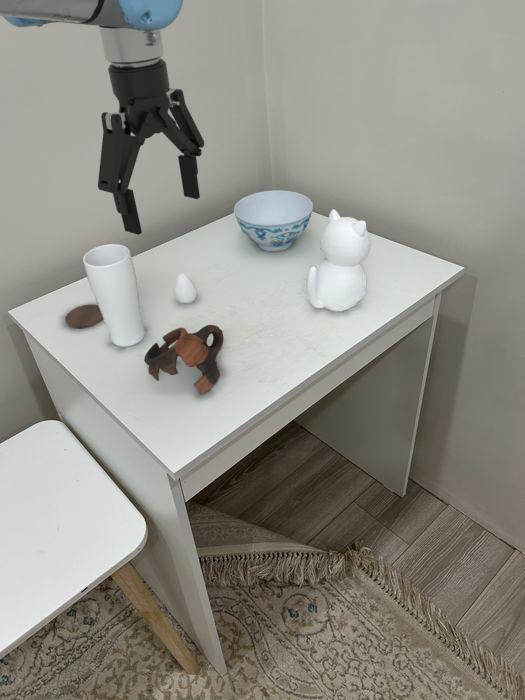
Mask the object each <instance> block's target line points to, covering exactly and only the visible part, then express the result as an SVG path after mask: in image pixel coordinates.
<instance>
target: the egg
mask: <svg viewBox="0 0 525 700" xmlns="http://www.w3.org/2000/svg"><path fill="white" fill-rule="evenodd" d="M173 295H174V298H175V299H176V300H177V301H178V302H179V303H181V304H190V303H192V302H194V301H195V300H196V298H197V296H198V292H197V287H196V286H195V283H194V282H193V280H192V279H191V278H190V276H189V275H188V274H186V272H181V273H179V275H178V276H176V279H175V281H174V284H173Z"/></svg>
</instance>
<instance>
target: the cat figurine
mask: <svg viewBox="0 0 525 700" xmlns="http://www.w3.org/2000/svg"><path fill="white" fill-rule="evenodd" d="M371 244H372V243H371V238H370V234H369V231H368V229H367V222H366V221H365V220H359V219H357V218H354V217H350V216H342V217H341V216H340V214H339V212H338V211H337V210H336V209H331V211H330V212H329V215H328V217H327V224H326V225H325V227H324V228H323V229H322V232H321V234H320V239H319V247H320V251H321V253H322V256H323V257H324V258H323V259H322V260H321V261H320V262H319V263H318V264H317V266H315V265H312V266H311V267H310V268H309V270H308V271H307V274H306V279H305V280H306V281H305V291H306V297H307V299H308V302H309V303H310V305H311V306H312V307H314V308H315V309H327V310H329V311H331V312H343V311H346V310H349V309H351V308H353V307H355V306H356V305H357V304H358V303H359V302H360V301H361V300H362V299H363V298H364V297H365V295H366V292H367V290H368V276H367V272H366V269H365V268H364V266H363V264H362V263H363V262H364V261H365V260H366V259H367V258H368V257H369V255H370V252H371Z"/></svg>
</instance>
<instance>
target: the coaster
mask: <svg viewBox="0 0 525 700" xmlns="http://www.w3.org/2000/svg"><path fill="white" fill-rule="evenodd" d="M64 320H65V324H66V325H67V326H68V327H70V328H72V329H87V328H90V327H93V326H95V325H97V324H99V323H100V322H101V321H102V320H104V319H103V316H102V314H101V311H100V309H99V306H98V304H83V305H80V306H77V307H75V308H73V309H72V310H70V311H69V312H68V313H67V314H66V315H65V319H64Z"/></svg>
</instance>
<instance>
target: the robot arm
mask: <svg viewBox="0 0 525 700" xmlns="http://www.w3.org/2000/svg"><path fill="white" fill-rule="evenodd" d="M183 4H184V0H0V17H3V18H4V20H6V21H7V22H8V23H9V24H11V25H12V26H14V27H16V28H28V27H37V28H42V27H43V26H44V25H48V24H54V23H64V24H75V25H85V26H98V28H99V33H100V38H101V42H102V43H101V44H102V48H103V54H104V57H105V60H106V61H107V62H108V63H110V64H109V66H108V68H107V70H108V71H107V72H108V76H109V80H110V85H111V89H112V93H113V95H114V96H115V99H116V100H117V102H118V104H119V105H118V111H116V112H115V111H114V112H107V111H103V112H102V113H101V117H100V118H101V125H102V131H103V133H102V142H101V150H100V160H99V170H98V179H97V189H98V190H99V191H102V192H106V193H110V194H112V196H113V197H112V198H113V201H114V205H115V208H116V212H117V213H118V214H119V215H121V218H122V220H121V221H122V224H123V229H124V231H125V232H127V233H131V234H133V235H138V236H139V235H141V234H142V233H143V230H142V226H141V221H140V217H139V212H138V208H137V202H136V199H135V193H134V190H133V189H130V188H129V187H130V183H131V179H132V176H133V173H134V169H135V165H136V163H137V159H138V156H139V152H140V149H141V147H142V146H144V144H145V143H146V140H147V139H150V138H152V137H153V136H154V135H155V134H161V133H162V134H163V135H164V136H165V137H166V138H167V139H168V140H169V141H170V142H171V143H172V145H173V146H175V147H176V149H177V150H178V151H179V152H180V153H182V154H180V155H178V156H177V160H178V165H179V172H180V179H181V186H182V191H183V197H184V198H185V197H186V198H189V199H194V200H199V199H200V198H201V195H200V194H201V193H200V187H199V179H198V174H199V168H198V167H199V166H198V160H197V157H201V156H202V154H203V153H202V149H203V148H204V146H205V140H204V138H203V136H202V134H201V132H200V130H199V128H198V126H197V124H196V122H195V120H194V118H193V116H192V113H191V112H190V110H189V108H188V107H187V104H186V100H185V95H184V91H183V89H180V88H173V87H172V88H171V87H170V79H169V73H168V67H167V62H166V61H165V60H164V58H162V57H163V56H164V55H165V50H164V49H165V48H164V43H163V37H162V31H161V30H163V29H166V28H167V27H169V26H170V25H172V24H173V23H174V22H175V21H176V19H177V18H178V16H179V15H180V14H181V13H180V12H181V10H182V7H183ZM169 112H170V114H171V115H172V116H171V115H170V114H169ZM131 134H132V135H131Z"/></svg>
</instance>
